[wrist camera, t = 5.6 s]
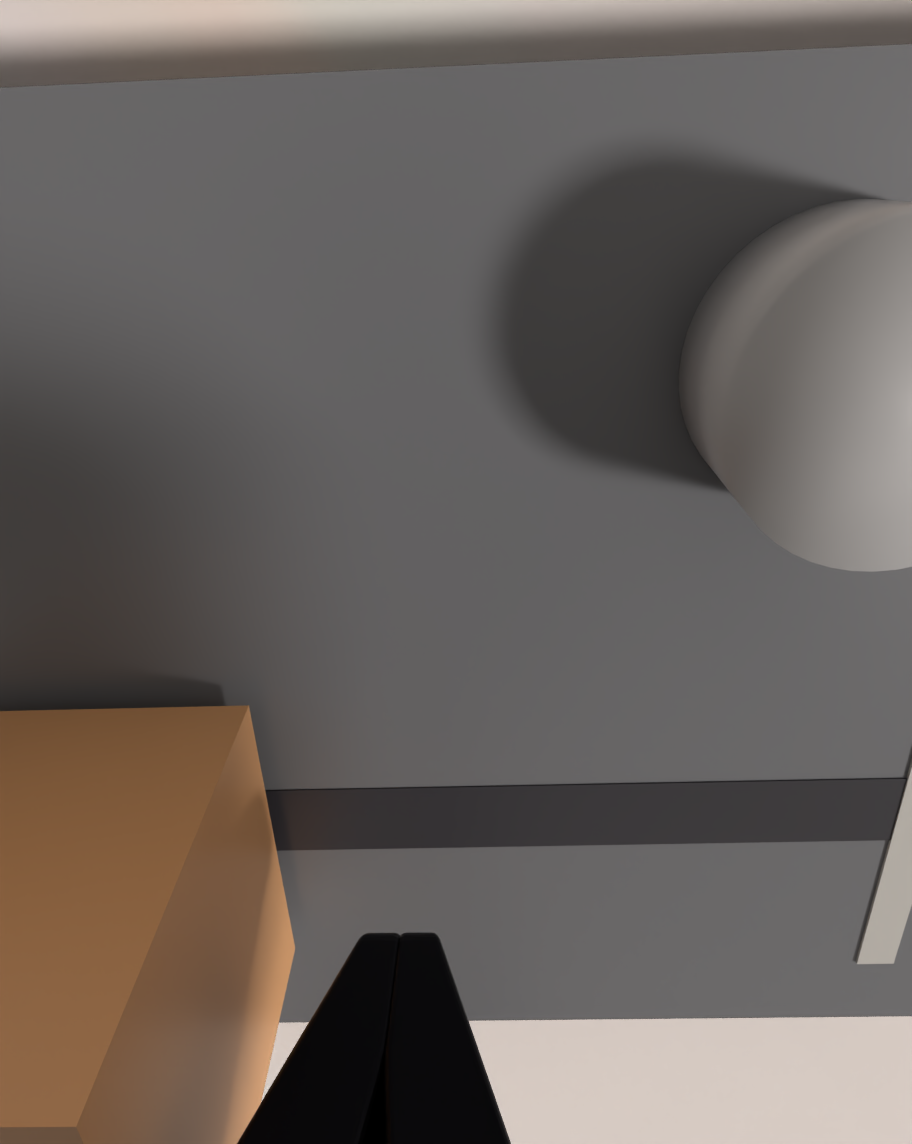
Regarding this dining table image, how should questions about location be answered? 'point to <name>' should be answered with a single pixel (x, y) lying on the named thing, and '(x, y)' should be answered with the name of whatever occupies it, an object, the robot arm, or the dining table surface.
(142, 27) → the dining table surface
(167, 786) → the orange cube
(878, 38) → the dining table surface
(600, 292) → the board
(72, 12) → the dining table surface
